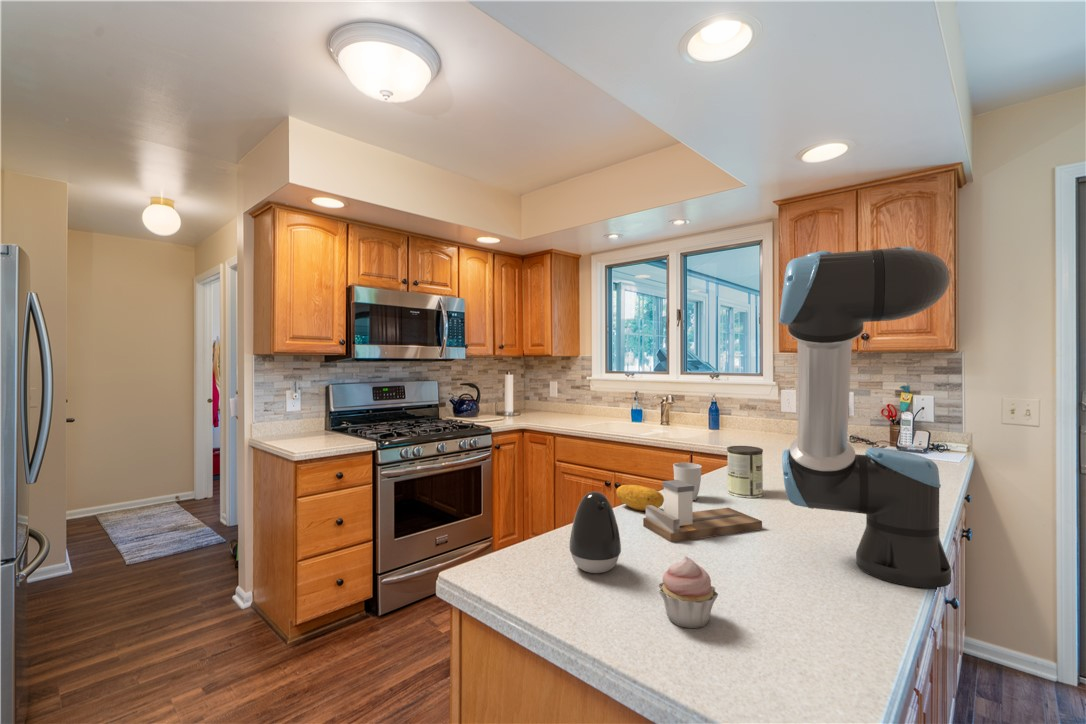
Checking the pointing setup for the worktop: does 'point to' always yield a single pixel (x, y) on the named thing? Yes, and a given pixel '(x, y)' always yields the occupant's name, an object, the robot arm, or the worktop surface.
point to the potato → (639, 496)
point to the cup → (689, 475)
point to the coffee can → (745, 471)
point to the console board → (699, 523)
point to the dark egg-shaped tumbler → (595, 535)
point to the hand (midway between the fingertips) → (819, 406)
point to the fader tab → (678, 500)
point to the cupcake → (687, 594)
